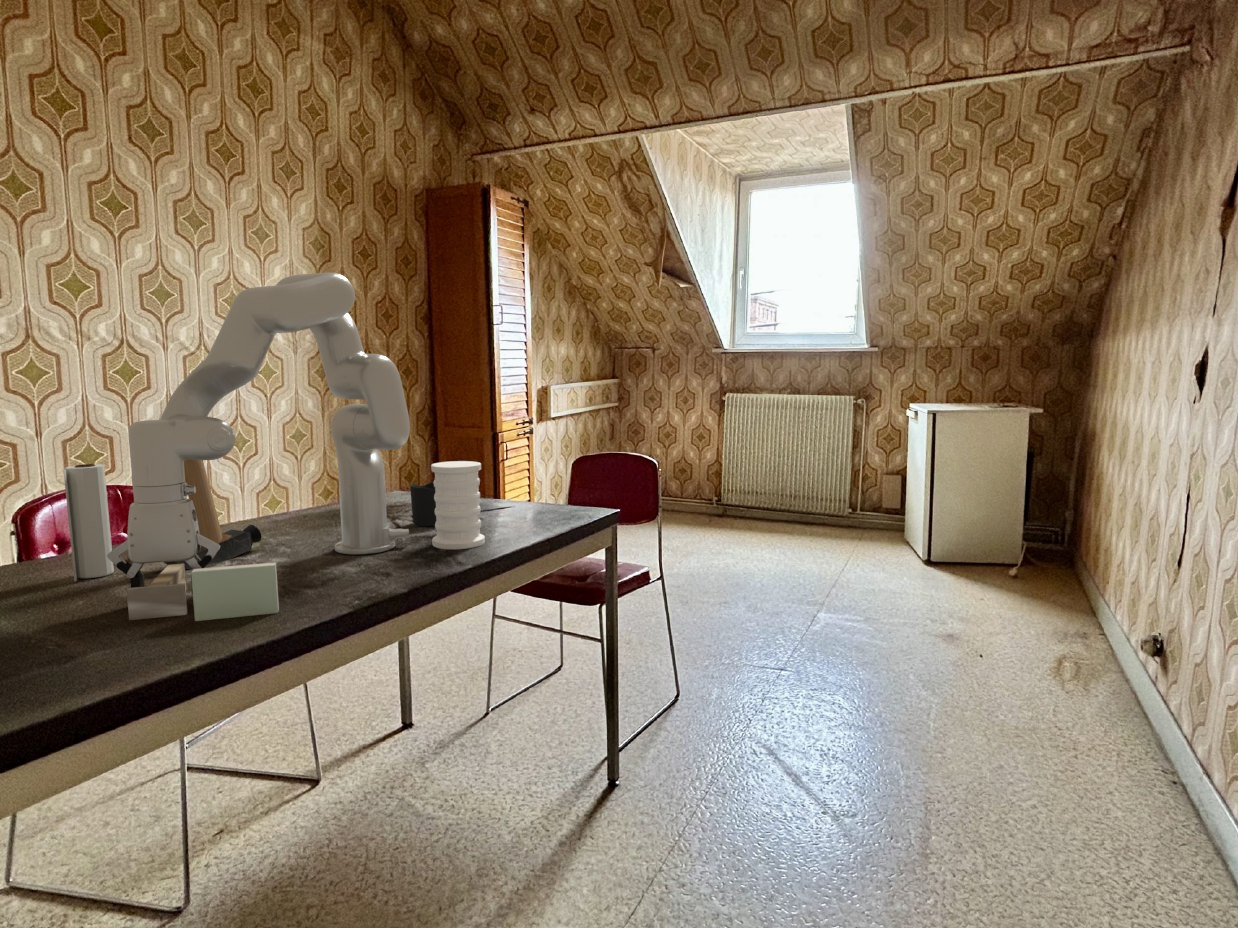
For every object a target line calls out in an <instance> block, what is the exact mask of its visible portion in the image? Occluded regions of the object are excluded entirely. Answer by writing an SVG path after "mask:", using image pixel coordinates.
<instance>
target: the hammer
mask: <svg viewBox="0 0 1238 928" xmlns="http://www.w3.org/2000/svg"><path fill="white" fill-rule="evenodd" d="M184 473H185V482H186V484H188V485H190V486H195V488H196V493H195V494H190V495H188V496H187V498H188V499H192V501H193V504H194V507H195V511H196V516H197V521H198V527H199V534H200V535H202V536H204V537H206V538H208V539H210V540H212V541H214V542H216V543H217V544H219V545H220V549H219V550H218V552H217V553H216V554H215V556H214V557H213V559H212V560H211V561H210V562H209V563H208V564H207V565H206V566H208V565H212V564H217V563H221V562H224V561H227V560H230V559H233V558H236V557H237V556H240V555H242V554H244V553H246V552H249V551H251V550H252V548H253V544H254V543H259V542H261V540H262V532H261V531H260V529H259V528H258V527H257V526H255V525H254V524H249V525H247V526H246V527H245V528H244V529H243V530H237V529H229V530H227V531H224V532H222V529H221V524H220V522H219V521H220V520H219V517H218V514H217V513H218V512H217V509H216V506H215V501H214V498H213V497H214V496H213V494H212V490H211V487H210V486H211V485H210V482H209V479H208V474H207V471H206V467H205V464H204V460H185V461H184ZM207 553H208V549H207V548H206V547H204V546H202V545H201V549H200V551H199V552H198V553H196V554H197V556H198V557H199V558H200V559H201V560H202V559H203V558H204V557H205V556H206V554H207ZM163 563H164V564H166V565H167V566H168V565H173V564H184V566H185V570H193V569H192V568H191V567H190V565H189V564H188V563H187V562H186V561H185V560H182V561H170V562H163Z"/></svg>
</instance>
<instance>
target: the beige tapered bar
mask: <svg viewBox="0 0 1238 928" xmlns="http://www.w3.org/2000/svg"><path fill="white" fill-rule="evenodd" d="M126 600H127V608H128V610H127V611H128V621H135V620H145V619H156V618H165V617H167V618H168V617H176V616H177V617H178V616H186V615H188V601H187V580H186V569H185V566H184V564H173V565H167V566H166V567H165V568H164V569H163V570H162V571H161V572H160V573H159V574H158V575H157V576H156V577H155V578H154V580H152V582H151V583H150V584H149V585H148V586H144V587H136V588H131V587H128V588H127V589H126Z"/></svg>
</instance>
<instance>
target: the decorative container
mask: <svg viewBox="0 0 1238 928" xmlns="http://www.w3.org/2000/svg"><path fill="white" fill-rule="evenodd" d="M430 468H431V469H430V470H431V472H432V473H434V480H433V482H434V487H435V494H434V499H435V501H436V508H435V511H434V512H435V515H436V523H435V526H434V528H435V530H436V535H435V536H434V537H432V540H431V541H432V543H431V544H432V546H433V547H434V548H437V549H441V550H465V549H466V550H467V549H472V548H473V549H474V548H477V547H481V546H482V545H484V544H485V543H486V539H485V537H486V536H485V535H484V534H482V533H481V529H480V528H481V527H482V521H481V519H480V514H481V511H482V508H481V505H480V500H481V492H480V491H479V490H480V489H479V486H480V482H481V479H480V477H479V471H481V470H482V463H481V462H478V461H470V460H469V461H468V460H457V461H456V460H455V461H454V460H453V461H441V462H440V461H439V462H435V463H431V465H430Z"/></svg>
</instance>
